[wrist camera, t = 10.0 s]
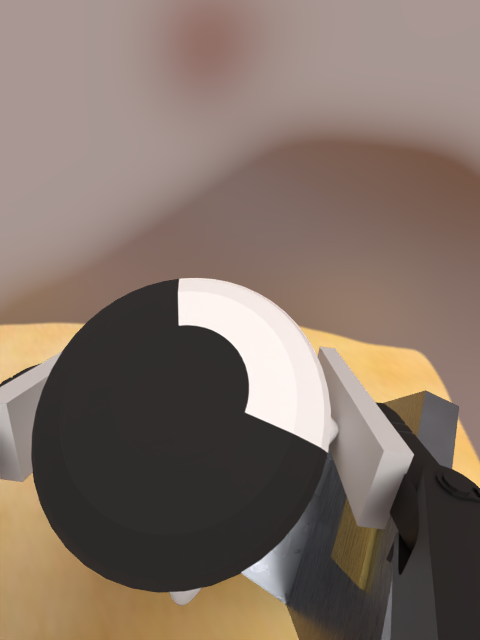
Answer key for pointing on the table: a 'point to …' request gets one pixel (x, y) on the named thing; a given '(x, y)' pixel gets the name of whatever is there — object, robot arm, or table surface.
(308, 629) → the bookend
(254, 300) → the medicine bottle
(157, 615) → the table surface
